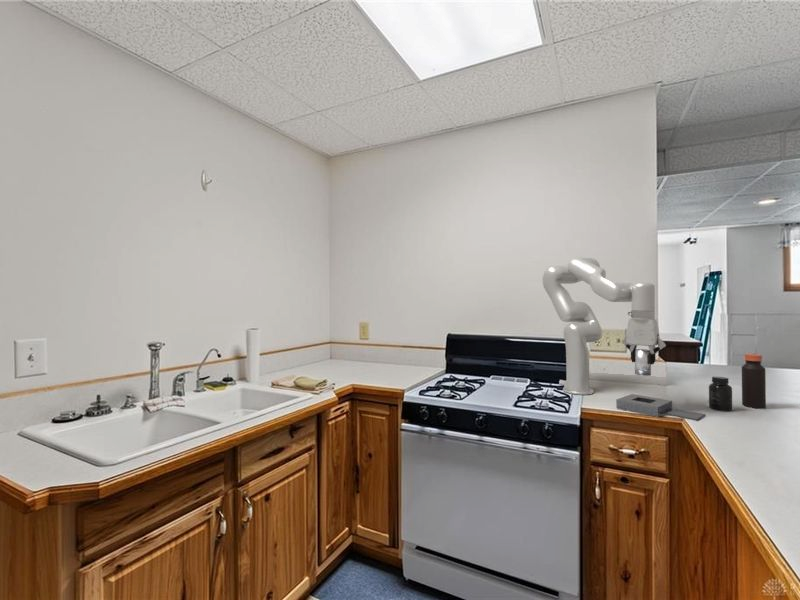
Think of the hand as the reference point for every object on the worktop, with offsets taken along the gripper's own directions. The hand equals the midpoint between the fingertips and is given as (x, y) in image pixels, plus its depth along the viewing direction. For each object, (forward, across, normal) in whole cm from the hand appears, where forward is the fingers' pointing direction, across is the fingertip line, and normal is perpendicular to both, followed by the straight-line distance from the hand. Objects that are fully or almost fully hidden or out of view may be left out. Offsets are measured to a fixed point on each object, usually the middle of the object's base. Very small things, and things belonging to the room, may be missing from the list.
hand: (642, 362), depth 147 cm
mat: (+18, +13, +3) cm, 22 cm away
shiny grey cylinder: (+5, 0, 0) cm, 5 cm away
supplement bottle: (+18, +18, +22) cm, 34 cm away
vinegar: (+18, +26, +36) cm, 47 cm away
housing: (+18, 0, 0) cm, 18 cm away
